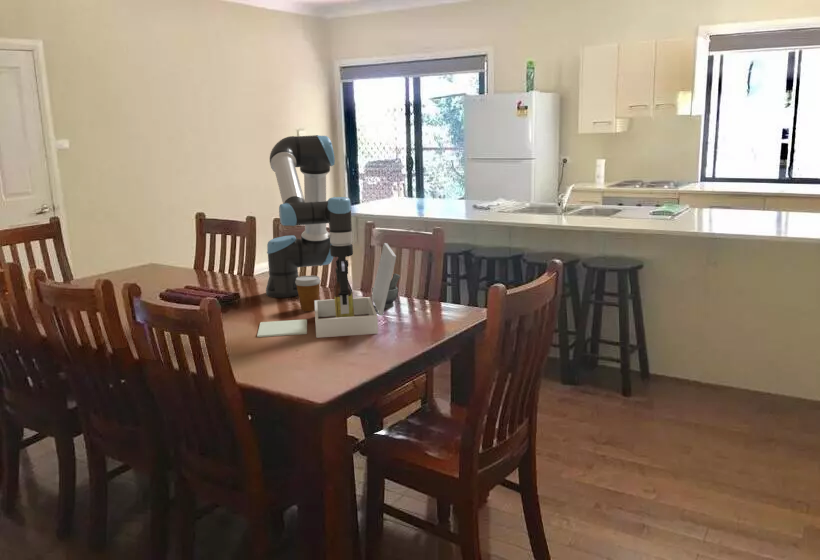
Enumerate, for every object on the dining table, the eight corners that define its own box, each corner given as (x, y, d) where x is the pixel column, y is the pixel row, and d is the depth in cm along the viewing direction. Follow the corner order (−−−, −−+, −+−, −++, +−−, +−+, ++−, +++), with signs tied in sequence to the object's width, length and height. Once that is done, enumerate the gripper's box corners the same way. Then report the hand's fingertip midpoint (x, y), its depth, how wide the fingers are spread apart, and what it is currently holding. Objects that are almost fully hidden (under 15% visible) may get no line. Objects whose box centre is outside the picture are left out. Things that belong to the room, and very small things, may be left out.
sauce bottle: (358, 324, 235) (355, 267, 230) (344, 328, 231) (341, 270, 226) (346, 320, 239) (343, 265, 235) (332, 324, 235) (329, 268, 231)
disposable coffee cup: (317, 313, 251) (315, 281, 248) (293, 312, 253) (290, 280, 250) (325, 306, 260) (324, 275, 258) (302, 305, 262) (300, 275, 259)
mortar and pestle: (378, 310, 252) (377, 278, 249) (368, 305, 260) (367, 274, 258) (406, 306, 257) (405, 275, 254) (395, 301, 265) (394, 270, 262)
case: (315, 316, 246) (314, 300, 245) (370, 313, 249) (370, 296, 248) (316, 337, 221) (315, 319, 220) (378, 333, 224) (377, 315, 222)
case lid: (384, 242, 244) (387, 243, 244) (371, 296, 248) (374, 297, 248) (392, 255, 219) (396, 256, 219) (378, 315, 222) (382, 315, 223)
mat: (260, 323, 239) (260, 322, 239) (306, 320, 241) (306, 319, 241) (257, 337, 223) (257, 335, 223) (306, 333, 225) (306, 332, 225)
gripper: (329, 240, 238) (332, 304, 243) (330, 249, 219) (334, 319, 224) (350, 239, 239) (353, 303, 244) (354, 248, 220) (357, 317, 225)
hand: (344, 310), depth 234 cm, fingers closed on sauce bottle, 6 cm apart
